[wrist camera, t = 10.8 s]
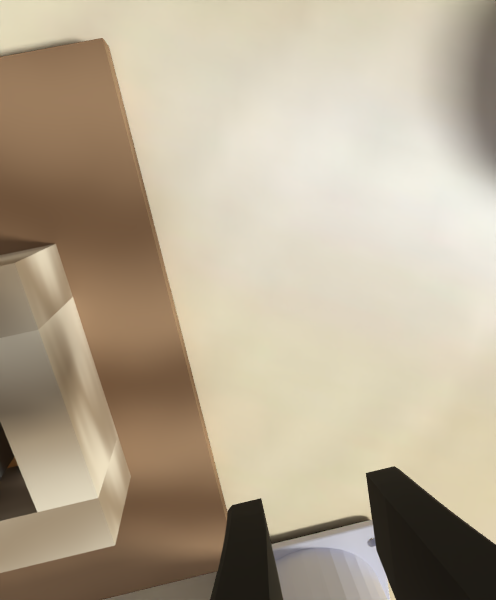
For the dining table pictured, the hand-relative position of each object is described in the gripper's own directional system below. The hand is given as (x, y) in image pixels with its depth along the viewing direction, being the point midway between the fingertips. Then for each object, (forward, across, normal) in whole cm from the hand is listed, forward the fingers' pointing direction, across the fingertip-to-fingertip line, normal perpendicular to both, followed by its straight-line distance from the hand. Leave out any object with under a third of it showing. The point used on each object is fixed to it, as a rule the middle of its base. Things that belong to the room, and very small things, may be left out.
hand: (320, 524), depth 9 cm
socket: (+10, +11, -1) cm, 15 cm away
